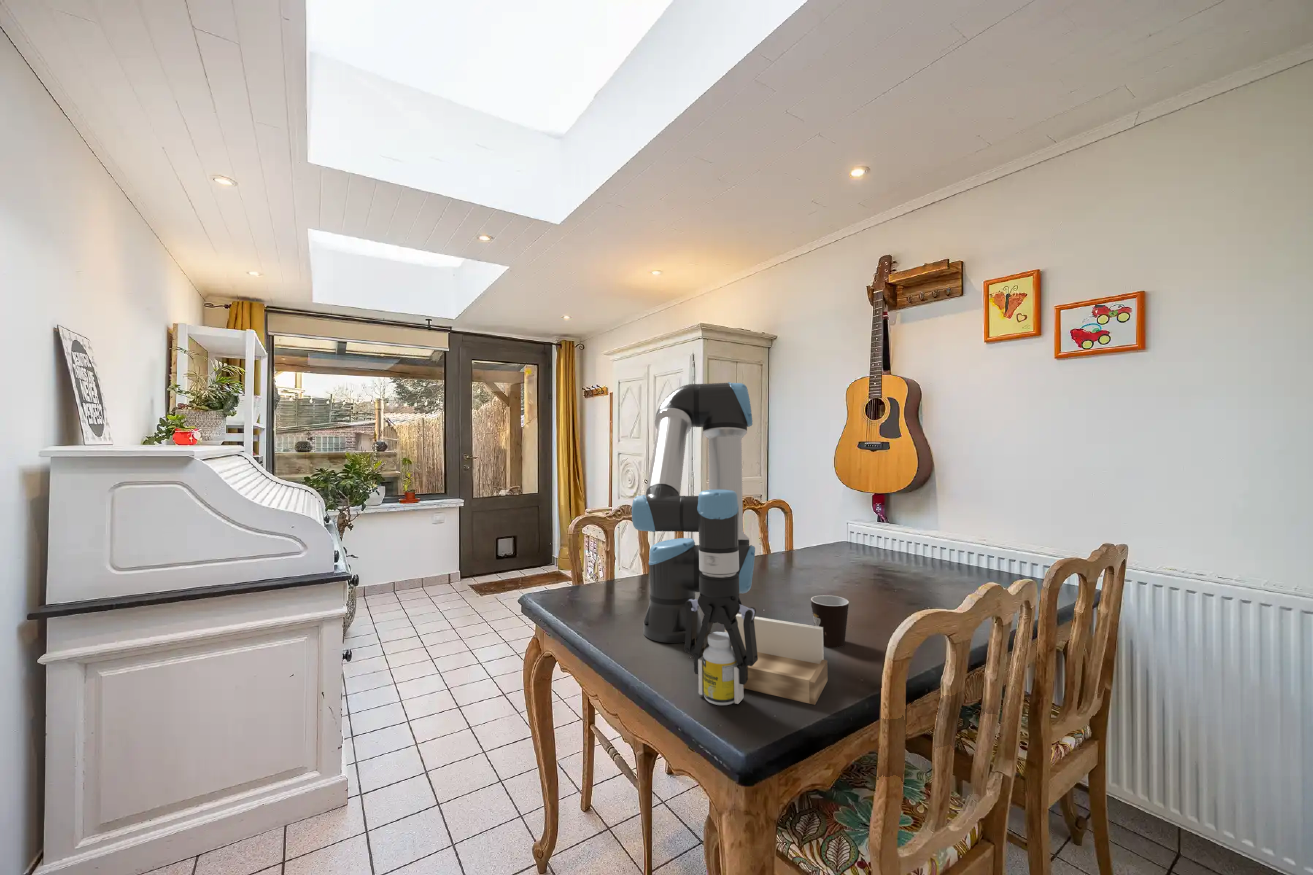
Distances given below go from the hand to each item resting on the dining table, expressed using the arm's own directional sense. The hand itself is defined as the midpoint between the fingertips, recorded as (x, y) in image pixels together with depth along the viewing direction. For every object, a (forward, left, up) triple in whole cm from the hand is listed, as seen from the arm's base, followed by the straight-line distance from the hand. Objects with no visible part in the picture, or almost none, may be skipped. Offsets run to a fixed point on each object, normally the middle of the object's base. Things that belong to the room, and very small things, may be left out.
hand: (720, 695), depth 96 cm
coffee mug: (+12, +39, -1) cm, 41 cm away
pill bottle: (0, 0, -1) cm, 1 cm away
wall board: (+5, +18, 0) cm, 18 cm away
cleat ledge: (+5, +12, 0) cm, 13 cm away
